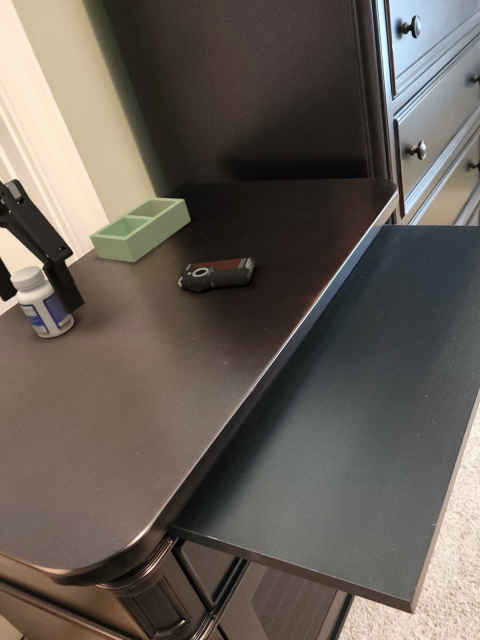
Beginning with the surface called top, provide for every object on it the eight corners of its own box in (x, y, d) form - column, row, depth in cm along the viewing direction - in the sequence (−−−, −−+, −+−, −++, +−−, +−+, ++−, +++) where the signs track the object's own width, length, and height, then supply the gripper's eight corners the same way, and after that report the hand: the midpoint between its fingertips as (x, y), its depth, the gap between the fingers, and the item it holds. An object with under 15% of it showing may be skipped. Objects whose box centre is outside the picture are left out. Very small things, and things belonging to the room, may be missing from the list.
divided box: (98, 258, 91) (88, 236, 89) (156, 218, 101) (149, 197, 98) (134, 262, 87) (125, 239, 85) (190, 220, 97) (184, 199, 94)
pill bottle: (72, 313, 78) (43, 259, 72) (77, 329, 74) (47, 273, 68) (36, 326, 76) (4, 272, 71) (39, 343, 73) (5, 287, 67)
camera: (244, 274, 73) (171, 282, 75) (249, 291, 75) (178, 298, 77) (251, 249, 77) (182, 257, 79) (256, 266, 79) (189, 273, 81)
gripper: (47, 123, 55) (125, 298, 69) (-81, 130, 66) (8, 279, 80) (-12, 149, 50) (84, 330, 64) (-139, 151, 62) (-34, 305, 75)
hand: (42, 302), depth 72 cm, fingers open, 13 cm apart
